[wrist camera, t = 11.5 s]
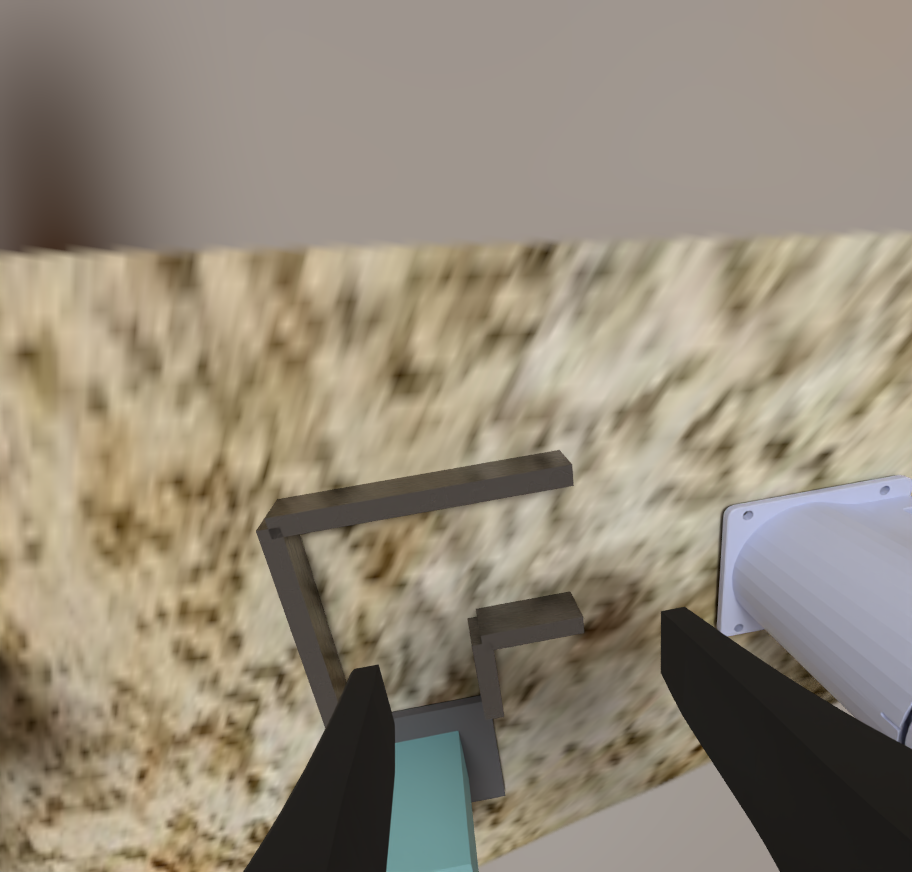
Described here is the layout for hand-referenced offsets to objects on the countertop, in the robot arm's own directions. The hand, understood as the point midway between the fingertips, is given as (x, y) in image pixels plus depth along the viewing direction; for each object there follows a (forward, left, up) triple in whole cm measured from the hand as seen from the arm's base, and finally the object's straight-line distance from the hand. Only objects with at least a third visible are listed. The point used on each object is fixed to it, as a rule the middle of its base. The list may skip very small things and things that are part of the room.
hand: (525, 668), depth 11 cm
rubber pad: (+5, +17, -10) cm, 20 cm away
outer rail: (+3, +5, -10) cm, 12 cm away
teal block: (+5, +16, -10) cm, 20 cm away
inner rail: (-1, +9, -10) cm, 14 cm away
